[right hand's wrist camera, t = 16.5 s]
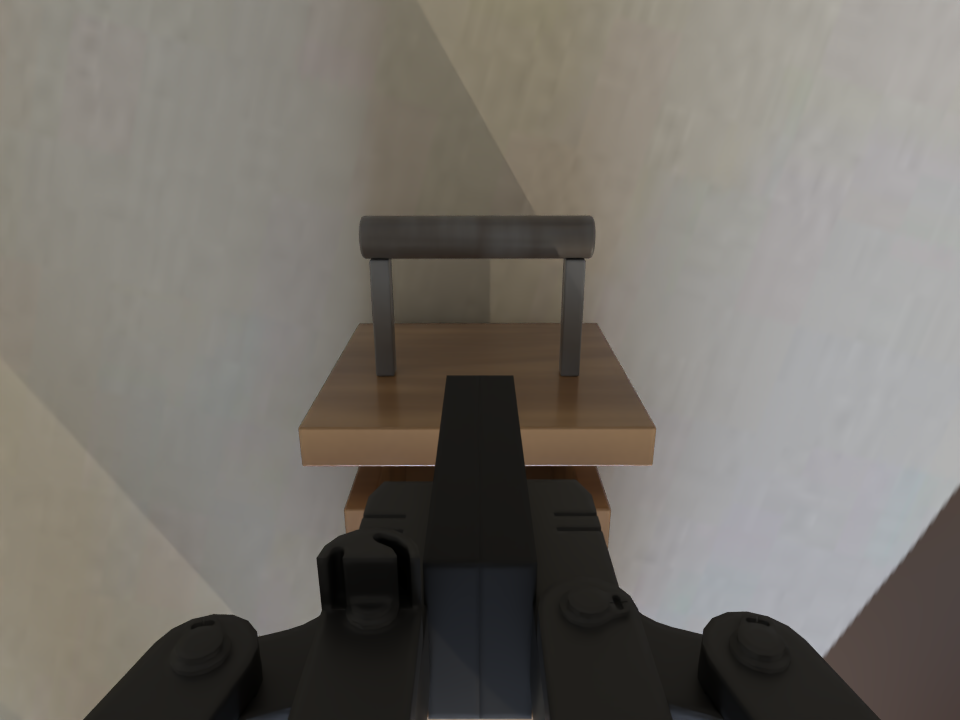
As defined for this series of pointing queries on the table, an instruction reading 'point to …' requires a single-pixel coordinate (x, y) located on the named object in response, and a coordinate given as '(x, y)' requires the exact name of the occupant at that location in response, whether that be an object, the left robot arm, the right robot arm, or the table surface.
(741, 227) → the table surface
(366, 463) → the drawer
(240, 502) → the table surface
